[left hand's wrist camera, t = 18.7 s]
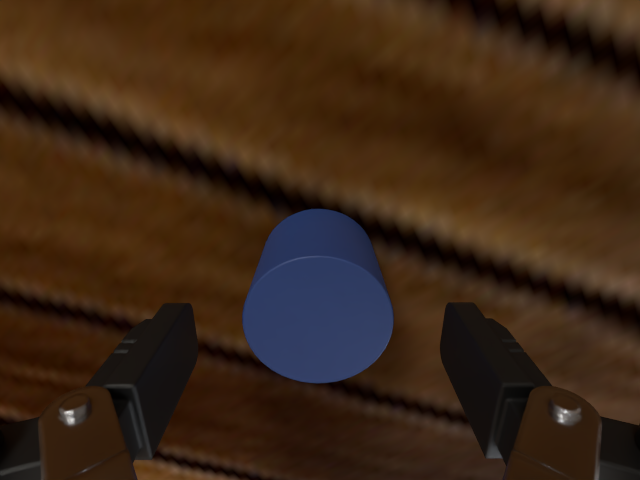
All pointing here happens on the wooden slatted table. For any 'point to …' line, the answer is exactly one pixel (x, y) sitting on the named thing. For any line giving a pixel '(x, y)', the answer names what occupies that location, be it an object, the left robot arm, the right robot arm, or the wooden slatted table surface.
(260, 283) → the canister
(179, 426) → the wooden slatted table surface
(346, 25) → the wooden slatted table surface
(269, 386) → the wooden slatted table surface
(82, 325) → the wooden slatted table surface
